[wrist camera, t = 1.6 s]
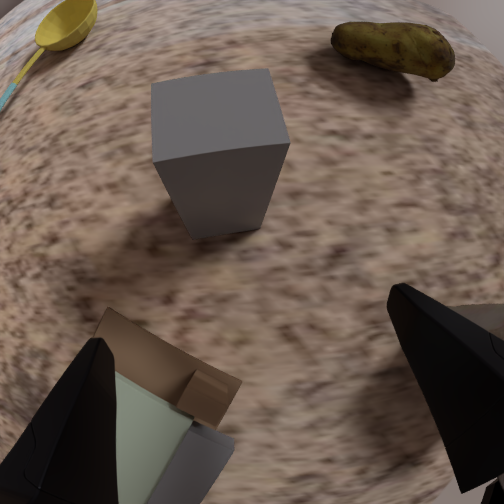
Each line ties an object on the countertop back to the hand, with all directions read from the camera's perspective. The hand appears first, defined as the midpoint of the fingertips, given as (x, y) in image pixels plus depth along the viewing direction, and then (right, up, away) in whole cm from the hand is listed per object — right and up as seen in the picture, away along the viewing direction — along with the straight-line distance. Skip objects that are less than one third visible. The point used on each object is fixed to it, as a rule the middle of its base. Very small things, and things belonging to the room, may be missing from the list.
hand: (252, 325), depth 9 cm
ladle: (-27, +21, +16) cm, 38 cm away
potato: (+15, +23, +19) cm, 33 cm away
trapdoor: (-7, -11, +7) cm, 15 cm away
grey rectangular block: (-2, +5, +14) cm, 15 cm away
